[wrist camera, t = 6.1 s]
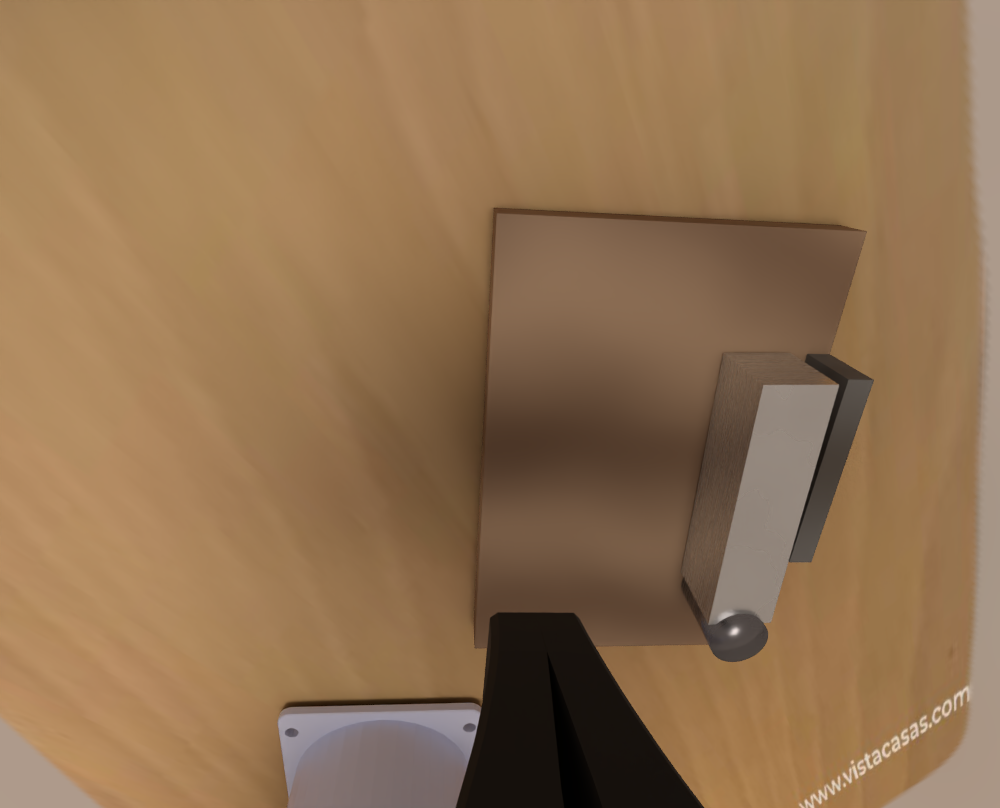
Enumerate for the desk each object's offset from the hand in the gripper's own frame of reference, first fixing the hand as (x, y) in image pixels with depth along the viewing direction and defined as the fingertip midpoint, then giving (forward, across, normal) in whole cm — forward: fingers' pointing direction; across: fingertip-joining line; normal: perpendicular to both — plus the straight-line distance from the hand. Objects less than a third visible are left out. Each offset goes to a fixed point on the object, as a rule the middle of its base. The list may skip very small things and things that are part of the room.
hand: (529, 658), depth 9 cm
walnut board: (+10, -5, +2) cm, 11 cm away
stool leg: (+9, -8, +2) cm, 12 cm away
